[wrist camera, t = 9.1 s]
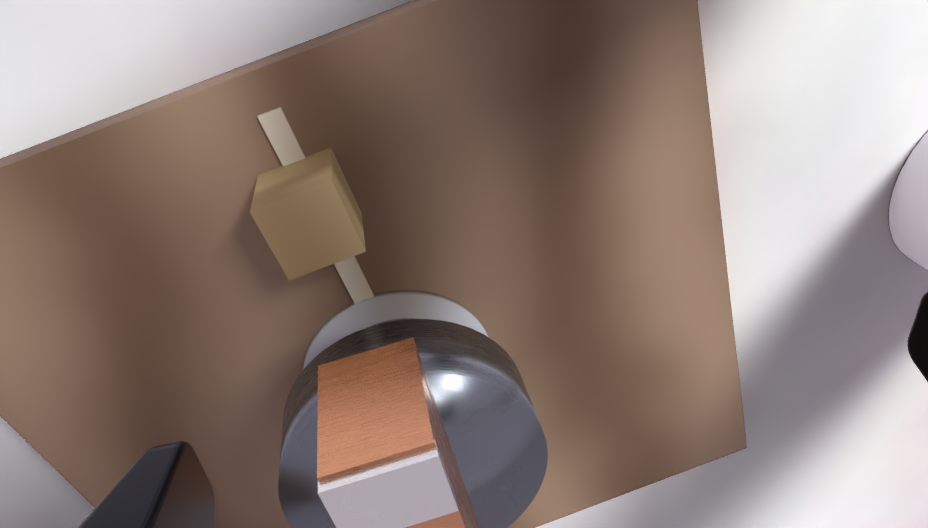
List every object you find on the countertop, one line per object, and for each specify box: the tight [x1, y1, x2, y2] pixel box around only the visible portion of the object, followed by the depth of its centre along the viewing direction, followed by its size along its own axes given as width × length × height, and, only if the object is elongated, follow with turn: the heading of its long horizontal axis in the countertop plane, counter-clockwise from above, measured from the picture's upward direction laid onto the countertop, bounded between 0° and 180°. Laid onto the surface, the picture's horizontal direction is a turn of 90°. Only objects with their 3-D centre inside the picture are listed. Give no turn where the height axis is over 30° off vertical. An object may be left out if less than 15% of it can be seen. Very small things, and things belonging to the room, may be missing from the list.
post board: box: [0, 0, 747, 528], centre depth 20 cm, size 22×20×3 cm
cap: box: [278, 319, 548, 528], centre depth 16 cm, size 9×7×6 cm
